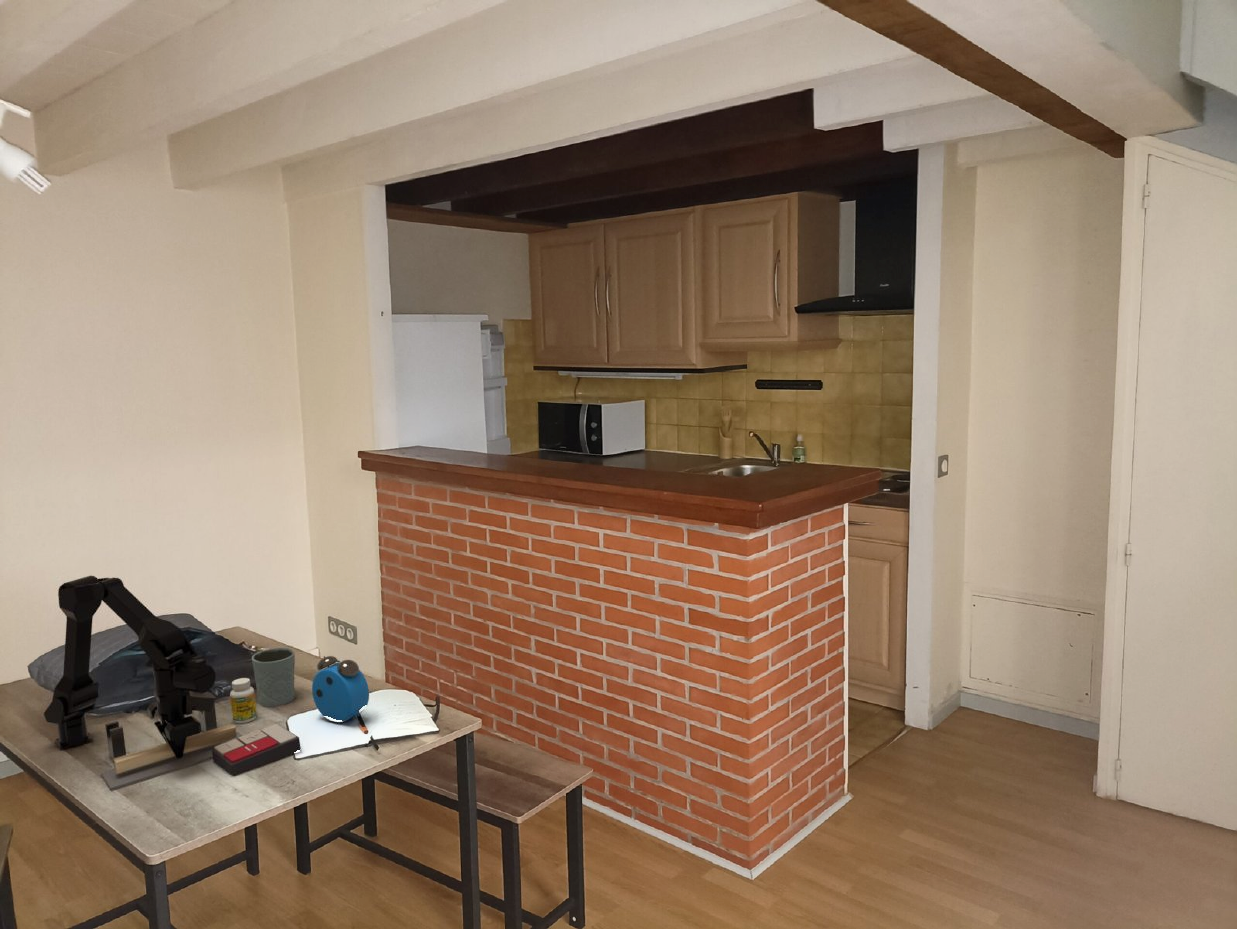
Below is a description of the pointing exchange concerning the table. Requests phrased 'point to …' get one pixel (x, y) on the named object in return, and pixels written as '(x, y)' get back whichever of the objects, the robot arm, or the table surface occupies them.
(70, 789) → the table surface
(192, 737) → the beech rail
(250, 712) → the supplement bottle
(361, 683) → the alarm clock
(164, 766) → the rubber mat
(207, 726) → the bracket
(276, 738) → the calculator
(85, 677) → the robot arm
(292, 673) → the green plant pot
